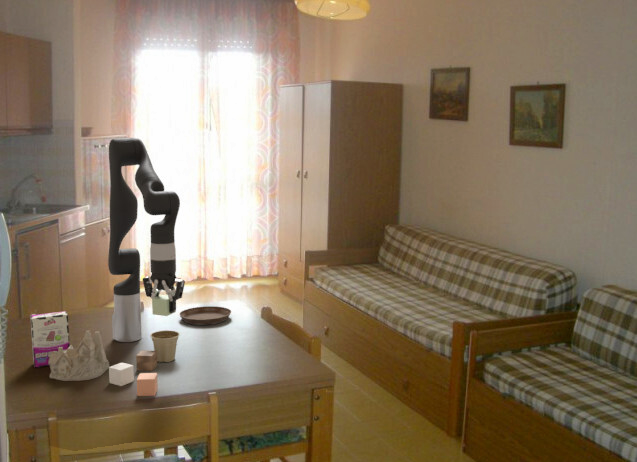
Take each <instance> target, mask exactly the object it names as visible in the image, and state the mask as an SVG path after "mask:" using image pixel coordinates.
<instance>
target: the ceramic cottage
mask: <svg viewBox="0 0 637 462" xmlns="http://www.w3.org/2000/svg"><path fill="white" fill-rule="evenodd" d="M103 346H104V345H103V339H102V336H101V331H98V330H97V331H94V335H93V337H92V333H91V330H86V331H85V334H84V337H82V338H81V342H79V343H78V346H77V348H75V347H73V345H72V344H70V346H69V348H68V349H67V350H66V351H63V347H61V348H60V347H59V349H58V351H59V352H54V351H53V352H52V353H51V356H50V359H49V362H48V364H49V365H50V366H49V368H50V372H49V379H54V380H57V381H64V382H68V381H69V382H72V381H73V382H74V381H75V382H76V381H87V380H93V379H96V378H99V377H101V376H102V375H103V374H104V373H105V372H107V370H109V367H111V366H110V362H109V360H108V359H107V355H106V352H105V350H104V347H103Z"/></svg>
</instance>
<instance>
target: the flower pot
mask: <svg viewBox="0 0 637 462" xmlns="http://www.w3.org/2000/svg"><path fill="white" fill-rule="evenodd" d="M180 336H181V335H180V332H179V331H175V330H167V329H166V330H165V329H164V330H158V331H155V332H152V333H150V338H151V341H152V344H153V351H157V363H158V362H159V363H164V362H165V363H170V362H173V361H174V360H175V359H176V352H177V345H178V340H179V337H180Z"/></svg>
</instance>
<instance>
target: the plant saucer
mask: <svg viewBox="0 0 637 462" xmlns="http://www.w3.org/2000/svg"><path fill="white" fill-rule="evenodd" d="M231 314H232V310H231V309H230V308H227V307H224V306H223V307H222V306H213V305H212V306H207V305H206V306H197V307H190V308H187V309H184V310H181V312H179V317H180V318H181V319H182V321H184V323H187V324H190V325H194V326H211V325H216V324H220V323H223V322H225V321H226V320H227V319H228V318H229V317H230V315H231Z"/></svg>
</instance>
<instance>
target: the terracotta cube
mask: <svg viewBox="0 0 637 462" xmlns="http://www.w3.org/2000/svg"><path fill="white" fill-rule="evenodd" d="M158 384H159V383H158V372H140V373H139V374H138V376H137V379H136V395H137V397H147V396H149V397H150V396H156V394H157V391H158V389H159V388H158V387H159V385H158Z"/></svg>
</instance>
